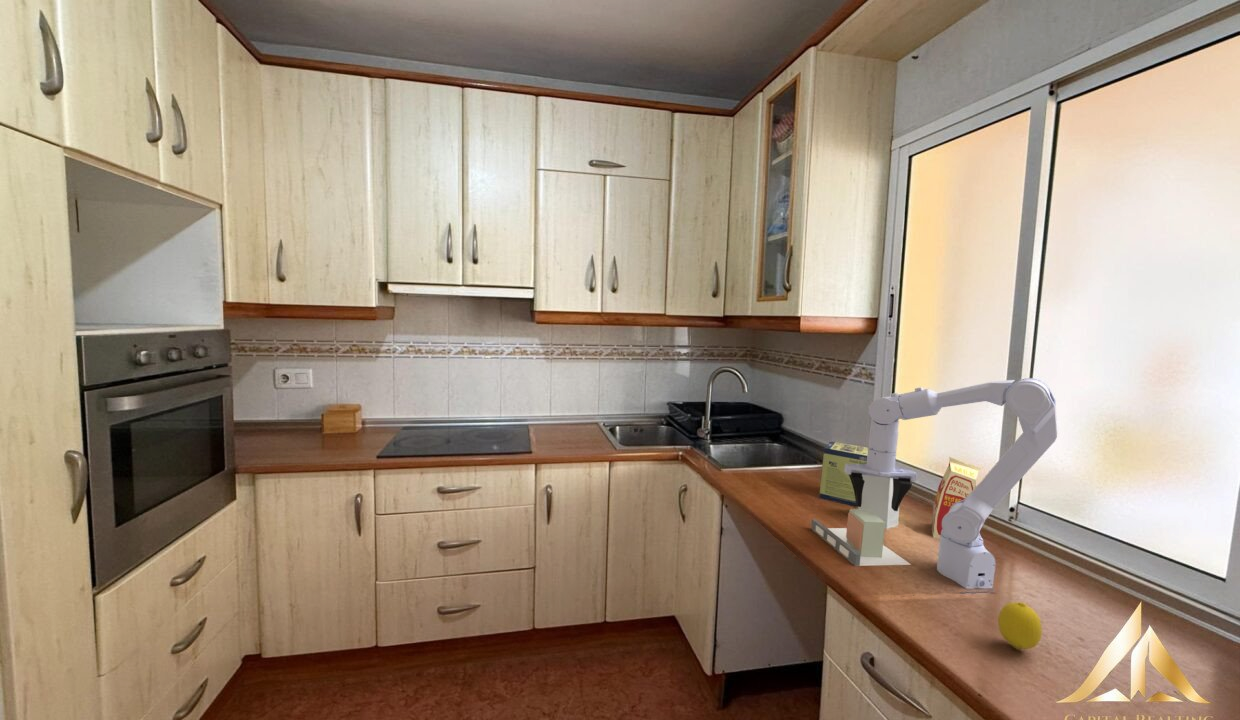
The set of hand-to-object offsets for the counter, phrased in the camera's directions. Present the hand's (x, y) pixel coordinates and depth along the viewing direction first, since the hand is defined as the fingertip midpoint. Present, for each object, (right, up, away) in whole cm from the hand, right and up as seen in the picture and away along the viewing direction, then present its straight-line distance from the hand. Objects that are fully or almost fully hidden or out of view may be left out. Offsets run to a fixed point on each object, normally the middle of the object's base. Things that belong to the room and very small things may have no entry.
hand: (876, 507), depth 113 cm
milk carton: (+26, -11, +12) cm, 30 cm away
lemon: (+7, -14, -32) cm, 35 cm away
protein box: (+10, -8, +34) cm, 36 cm away
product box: (-4, -9, -1) cm, 10 cm away
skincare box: (+8, -10, +16) cm, 20 cm away
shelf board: (-4, -10, +1) cm, 11 cm away
